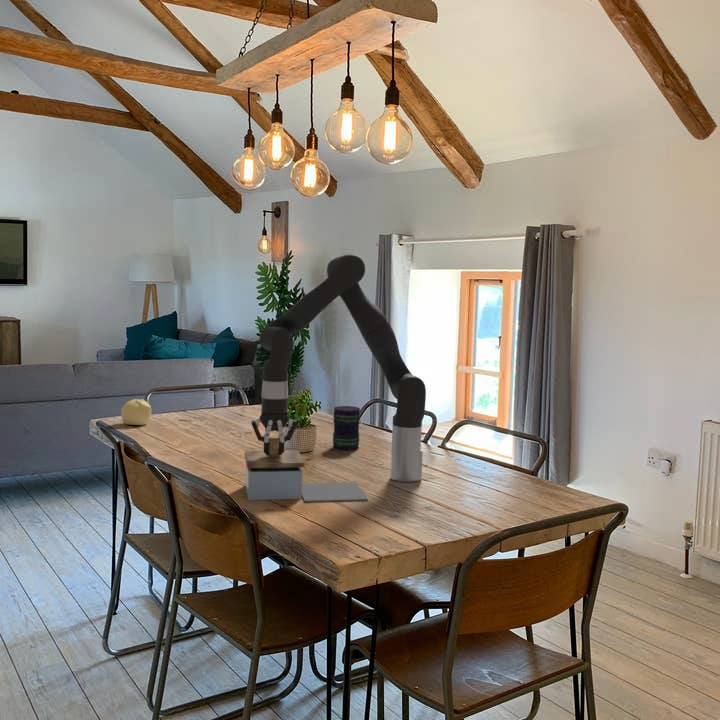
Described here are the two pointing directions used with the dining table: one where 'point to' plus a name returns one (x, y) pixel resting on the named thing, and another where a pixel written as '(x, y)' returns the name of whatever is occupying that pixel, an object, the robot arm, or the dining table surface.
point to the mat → (332, 492)
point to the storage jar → (346, 428)
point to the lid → (273, 457)
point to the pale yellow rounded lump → (136, 412)
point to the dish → (273, 483)
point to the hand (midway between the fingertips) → (273, 454)
